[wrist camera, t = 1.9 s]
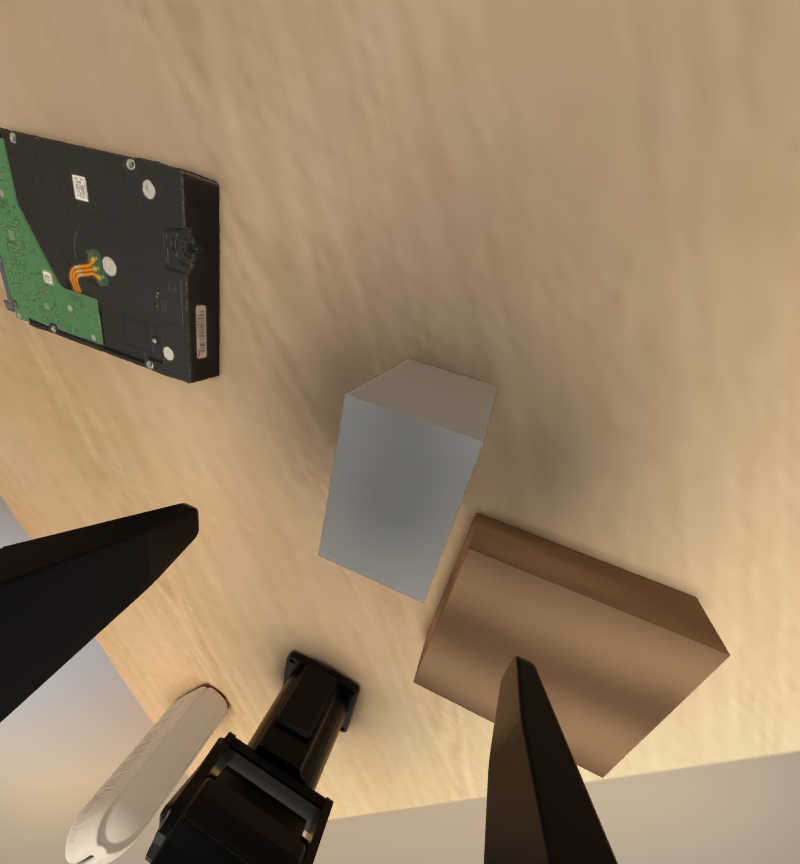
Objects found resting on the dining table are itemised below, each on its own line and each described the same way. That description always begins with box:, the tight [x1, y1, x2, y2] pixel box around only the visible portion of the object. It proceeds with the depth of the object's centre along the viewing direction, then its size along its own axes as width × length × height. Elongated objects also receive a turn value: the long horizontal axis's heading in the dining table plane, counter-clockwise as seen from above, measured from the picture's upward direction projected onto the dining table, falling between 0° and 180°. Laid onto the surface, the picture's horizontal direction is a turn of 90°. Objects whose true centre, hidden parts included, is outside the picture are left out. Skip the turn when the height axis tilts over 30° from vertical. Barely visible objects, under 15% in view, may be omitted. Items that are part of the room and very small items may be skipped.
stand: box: [414, 513, 730, 778], centre depth 19 cm, size 11×11×3 cm
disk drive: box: [0, 128, 220, 383], centre depth 20 cm, size 10×3×15 cm
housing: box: [319, 359, 498, 603], centre depth 15 cm, size 7×4×7 cm, turn 167°
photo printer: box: [65, 687, 228, 864], centre depth 33 cm, size 10×4×12 cm, turn 135°
